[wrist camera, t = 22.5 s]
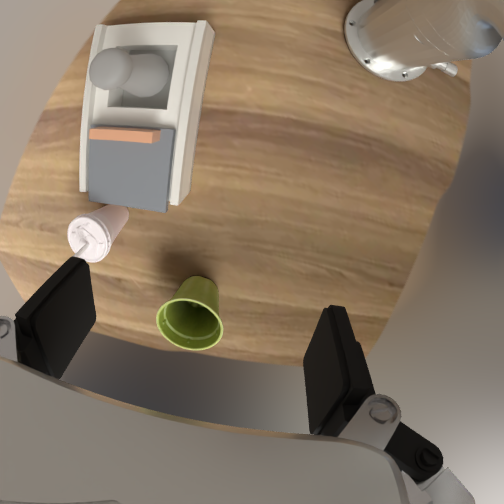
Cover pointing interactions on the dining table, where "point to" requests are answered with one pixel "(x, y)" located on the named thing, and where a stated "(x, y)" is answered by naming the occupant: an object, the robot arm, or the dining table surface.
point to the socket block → (161, 104)
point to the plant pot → (192, 315)
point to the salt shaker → (129, 72)
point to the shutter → (131, 165)
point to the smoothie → (96, 231)
